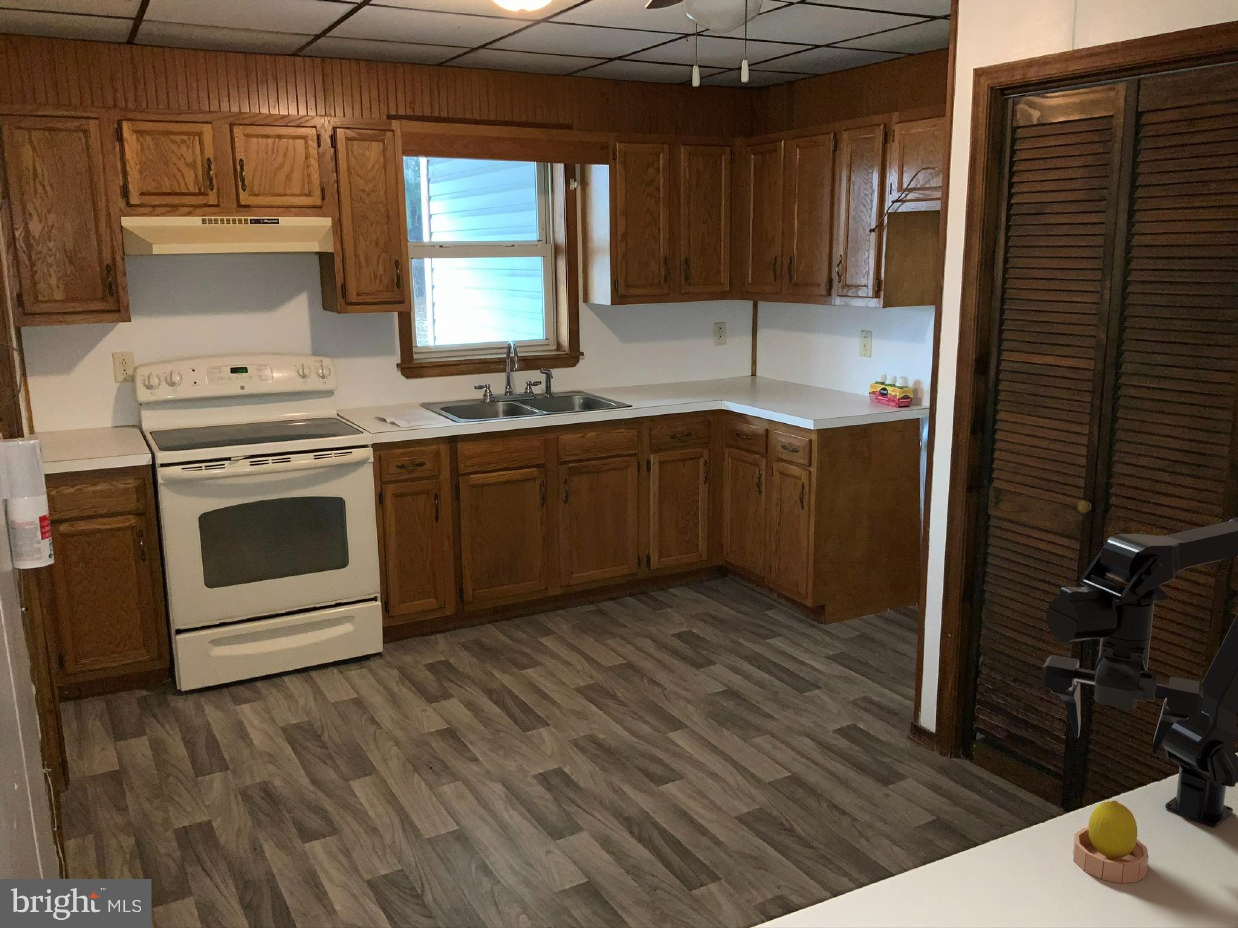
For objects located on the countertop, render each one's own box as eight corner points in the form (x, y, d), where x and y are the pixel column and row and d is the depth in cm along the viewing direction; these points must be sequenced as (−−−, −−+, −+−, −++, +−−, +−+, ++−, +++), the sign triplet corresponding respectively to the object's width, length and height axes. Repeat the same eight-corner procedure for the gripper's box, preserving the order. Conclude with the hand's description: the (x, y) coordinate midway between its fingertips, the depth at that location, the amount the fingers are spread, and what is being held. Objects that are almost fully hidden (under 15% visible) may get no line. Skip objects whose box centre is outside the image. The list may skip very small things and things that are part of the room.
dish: (1092, 837, 133) (1094, 819, 132) (1157, 865, 127) (1159, 847, 126) (1060, 859, 128) (1062, 842, 127) (1126, 890, 122) (1128, 872, 121)
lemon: (1140, 874, 124) (1145, 814, 122) (1092, 869, 125) (1097, 810, 124) (1127, 849, 129) (1132, 792, 128) (1081, 844, 130) (1085, 788, 129)
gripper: (1038, 639, 128) (1029, 752, 131) (1206, 668, 118) (1192, 789, 122) (1052, 613, 137) (1043, 719, 140) (1209, 639, 128) (1196, 752, 131)
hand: (1114, 744), depth 133 cm, fingers open, 9 cm apart
